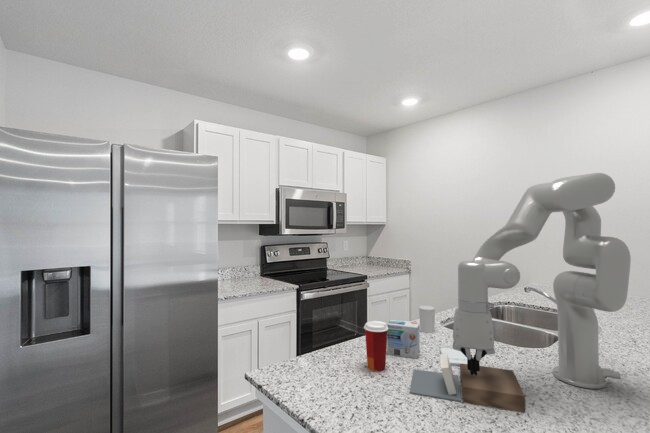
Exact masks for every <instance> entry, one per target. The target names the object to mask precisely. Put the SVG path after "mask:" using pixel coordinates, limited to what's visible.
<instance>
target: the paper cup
mask: <svg viewBox="0 0 650 433" xmlns="http://www.w3.org/2000/svg"><path fill="white" fill-rule="evenodd" d="M387 324H388V323H387V322H384V321H380V320H370V321H367V322H366V323H365V324H364V326H363V329H364V330H365V347H366V349H365V350H366V364H367V369H368V370H369V371H372V372H374V373H375V372H376V373H377V372H379V373H380V372H381V373H382V372H384V371H385V370H386V362H387V330H388V327H387Z"/></svg>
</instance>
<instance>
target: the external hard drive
mask: <svg viewBox="0 0 650 433" xmlns="http://www.w3.org/2000/svg"><path fill="white" fill-rule="evenodd" d="M439 352H440V354H446V353H447V355H448V358H449V361H450V365H451V367H460V364H467V357H466V356H465V355H464V354H463V353H462V352H461V351H457V350H454V349H453V348H445V347H444V348H443V347H441V348H439Z"/></svg>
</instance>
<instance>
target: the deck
mask: <svg viewBox="0 0 650 433" xmlns="http://www.w3.org/2000/svg"><path fill="white" fill-rule="evenodd" d="M459 378H460V380H459V381H460V386H461V397H462V402H463V403H464V404H471V405H476V406H482V407H489V408H496V409H502V410H507V411H513V412H519V413H526V395H525V392H524V391H523V389H522V387H521V384H520V382H519V380H518V378H517V376H516V374H515V373H514V370H513V369H504V368H498V367H497V368H496V367H490V366H482V365H480V371H477V375H474V374H473V375H471V373H470V370H468V369H467V364H460V366H459Z"/></svg>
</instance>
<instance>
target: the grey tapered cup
mask: <svg viewBox="0 0 650 433" xmlns="http://www.w3.org/2000/svg"><path fill="white" fill-rule="evenodd" d="M418 312H419V313H418V314H419V332H420V333H423V334H434V333H435V324H436V323H435V321H436V307H434V306H431V305H419V306H418Z"/></svg>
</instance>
